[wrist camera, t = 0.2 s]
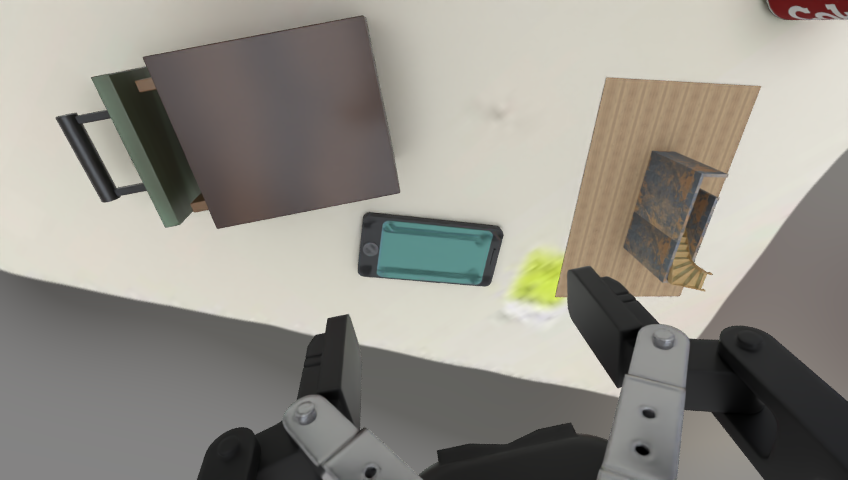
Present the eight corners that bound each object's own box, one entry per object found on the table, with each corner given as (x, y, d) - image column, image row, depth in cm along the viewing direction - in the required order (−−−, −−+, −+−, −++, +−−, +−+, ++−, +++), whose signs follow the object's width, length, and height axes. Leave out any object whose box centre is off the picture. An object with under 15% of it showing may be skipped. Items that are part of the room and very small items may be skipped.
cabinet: (248, 187, 42) (216, 229, 34) (195, 49, 36) (141, 56, 28) (394, 159, 43) (400, 193, 34) (365, 17, 37) (363, 15, 28)
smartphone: (363, 216, 44) (505, 231, 46) (363, 211, 45) (502, 226, 47) (357, 278, 47) (490, 289, 49) (357, 272, 48) (487, 283, 50)
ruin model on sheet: (679, 296, 54) (738, 348, 46) (555, 297, 52) (591, 351, 44) (760, 86, 43) (858, 102, 34) (606, 77, 41) (668, 92, 32)
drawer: (140, 205, 41) (93, 242, 34) (76, 79, 36) (5, 93, 29) (339, 166, 41) (333, 195, 34) (305, 36, 36) (289, 39, 29)
